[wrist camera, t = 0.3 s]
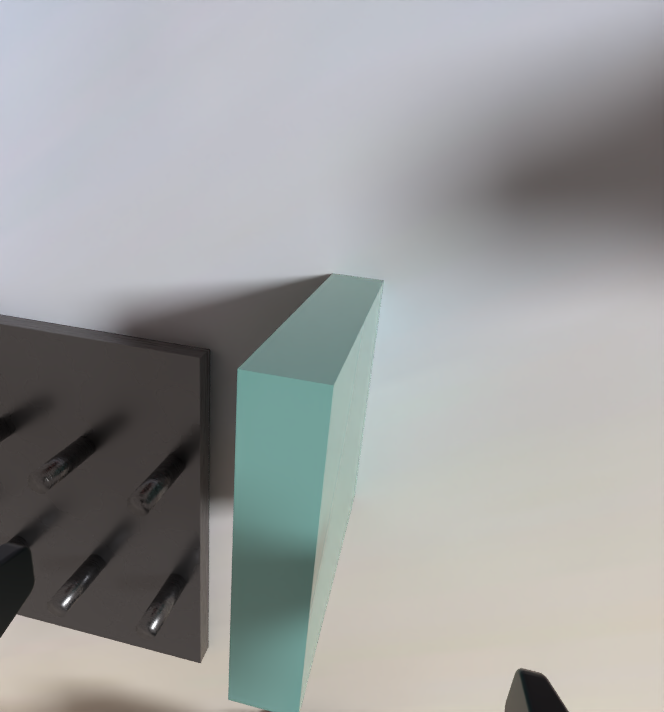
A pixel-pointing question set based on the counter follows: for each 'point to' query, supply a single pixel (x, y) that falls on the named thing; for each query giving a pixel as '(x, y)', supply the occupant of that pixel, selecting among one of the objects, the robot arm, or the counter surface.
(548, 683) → the robot arm
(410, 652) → the counter surface
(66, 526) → the dish rack
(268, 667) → the teal plate
